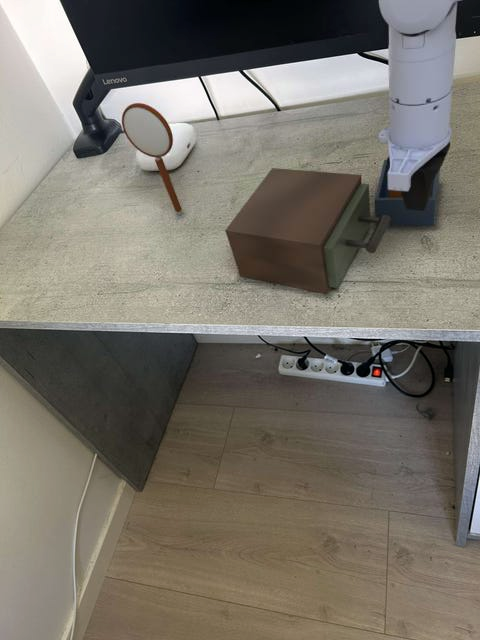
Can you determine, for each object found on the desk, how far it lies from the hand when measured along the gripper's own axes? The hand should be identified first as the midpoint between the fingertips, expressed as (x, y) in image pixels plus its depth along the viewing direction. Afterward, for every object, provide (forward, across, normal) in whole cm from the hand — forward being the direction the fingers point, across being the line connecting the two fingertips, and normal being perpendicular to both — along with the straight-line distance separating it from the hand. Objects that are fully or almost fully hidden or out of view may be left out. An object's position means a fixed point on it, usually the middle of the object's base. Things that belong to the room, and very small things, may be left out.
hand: (416, 206), depth 57 cm
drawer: (+9, 0, -12) cm, 15 cm away
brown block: (+10, -13, -5) cm, 17 cm away
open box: (+10, -13, -5) cm, 17 cm away
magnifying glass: (+10, -4, -41) cm, 43 cm away
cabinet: (+10, 0, -16) cm, 19 cm away
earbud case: (+10, -20, -54) cm, 59 cm away
